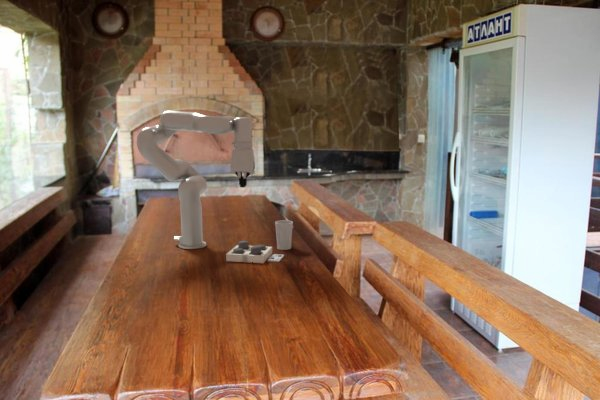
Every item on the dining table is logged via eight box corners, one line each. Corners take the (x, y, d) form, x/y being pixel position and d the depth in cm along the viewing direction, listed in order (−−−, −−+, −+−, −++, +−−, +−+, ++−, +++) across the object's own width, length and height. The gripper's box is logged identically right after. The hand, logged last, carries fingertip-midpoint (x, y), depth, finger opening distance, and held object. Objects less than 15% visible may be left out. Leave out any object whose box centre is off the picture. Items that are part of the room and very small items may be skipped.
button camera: (249, 256, 238) (249, 248, 237) (252, 253, 242) (252, 245, 241) (259, 257, 237) (259, 248, 236) (262, 254, 241) (262, 246, 240)
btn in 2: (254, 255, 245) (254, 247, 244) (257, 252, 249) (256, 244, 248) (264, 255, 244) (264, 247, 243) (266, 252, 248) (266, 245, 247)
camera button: (232, 258, 239) (231, 250, 239) (235, 255, 244) (235, 248, 243) (242, 259, 238) (241, 251, 238) (245, 256, 243) (245, 248, 242)
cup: (290, 250, 254) (290, 224, 252) (273, 249, 255) (273, 223, 253) (294, 246, 262) (294, 220, 259) (277, 245, 263) (277, 219, 261)
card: (267, 261, 238) (267, 259, 238) (272, 255, 246) (272, 253, 246) (279, 261, 237) (279, 260, 237) (284, 256, 245) (284, 254, 245)
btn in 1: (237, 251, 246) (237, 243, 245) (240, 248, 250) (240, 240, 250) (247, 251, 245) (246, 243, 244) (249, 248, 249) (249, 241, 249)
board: (226, 261, 238) (226, 254, 238) (237, 251, 253) (237, 244, 252) (263, 263, 235) (263, 256, 234) (272, 253, 249) (272, 246, 249)
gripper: (223, 145, 248) (223, 187, 251) (256, 147, 245) (256, 189, 248) (229, 144, 255) (229, 184, 258) (261, 145, 252) (261, 186, 255)
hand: (242, 186), depth 253 cm, fingers closed
